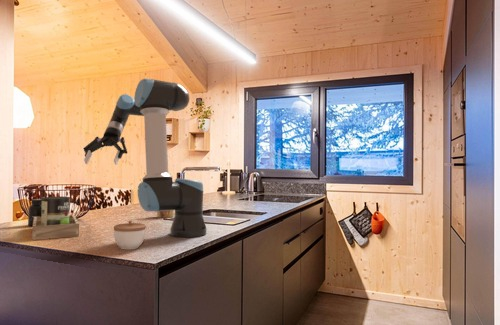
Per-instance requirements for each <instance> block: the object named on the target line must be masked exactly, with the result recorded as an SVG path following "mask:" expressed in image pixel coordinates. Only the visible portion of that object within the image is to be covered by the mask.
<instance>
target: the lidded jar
mask: <svg viewBox="0 0 500 325" xmlns="http://www.w3.org/2000/svg"><path fill="white" fill-rule="evenodd" d="M132 221H133V220H128V222H127V223H118V224H116V225H113V235H114V241H115V243H116V244H117V246H118V247H119V248H120V249H121V250H136V249H138V248H139V247H140V246H141V245H142V243H143V242H144V240H145V237H146V229H147V225H146V224H144V223H141V222H139V223H138V222H132Z"/></svg>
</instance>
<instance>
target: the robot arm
mask: <svg viewBox="0 0 500 325" xmlns="http://www.w3.org/2000/svg"><path fill="white" fill-rule="evenodd" d="M189 103H190V95H189V92H188V90H187V89H186V88H185V87H184V86H183V85H181V84H180V83H176V82H170V81H165V80H159V79H154V78H143V79H140V81H139V82H138V84H137V86H136V88H135V92H134V97H133V96H131V95H129V94H126V93H125V94H121V95H120V96H119V97H118V99H117V101H116V103H115V104H116V105H115V106H114V110H113V112H112V114H111V118H110V120H109V122H108V124H107V126H106V129H105V131H104V133H103V137H99V136H95V138H94V139H93V140H92V141H90V142H89V143H88V144H87V145H85V146H84V147H83V152H84V159H83V162H84V163H85V165H88V163H89V162H90V159H91V157H92V155H93V153H94V152H96V151H97V150H99V149H101V148H104V147H113V148H115V149H116V154H115V156H114V159H113V162H114V165H118V162H119V160H120V159H122V158H123V155H124V154H128V150H127V146H126V144H125V143H126V140H125V137H124V136H121V135H122V133H123V132H124V128H125V126H126V124H127V122H128V120H129V117H130V116H137V117H140V116H142V117H144V143H145V144H144V145H145V168H146V169H145V171H146V172H145V173H146V174H145V175H144V176H143V178H142V181H141V182H140V183H139V184H138V186H137V198H138V203H139V205H140V206H141V207H140V208H142V210H144V211H145V212H148V213H149V212H151V213H152V212H153V213H157V212H158V211H170V210H174V216H173V221H172V223H171V225H170V226H171V227H170V231H169V232H170V234H169V235H170V236H173V237H178V238H195V237H202V235H203V236H205V235H206V234H207V226H206V223H205V219H204V215H203V213H204V212H203V210H204V207H203V206H204V205H203V204H204V184H203V182H202V181H200V180H194V179H185V178H175V180H174V181H173V176H172V175H171V174H170V173H169V159H168V139H167V135H168V134H167V115H169V113H170V112H171V111H172V112H178V111H182V110H184V109H186V108H187V107H188V106H189ZM119 142H120V144H121V145H122V147H121V146H120V145H119V144H118V143H119Z"/></svg>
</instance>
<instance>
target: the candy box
mask: <svg viewBox="0 0 500 325" xmlns="http://www.w3.org/2000/svg"><path fill="white" fill-rule="evenodd" d="M174 215H175V210H170V211H158V212H156V218H174Z"/></svg>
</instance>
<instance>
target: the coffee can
mask: <svg viewBox="0 0 500 325" xmlns="http://www.w3.org/2000/svg"><path fill="white" fill-rule="evenodd" d="M40 199H41V200H42V219H41V226H45V225H61V224H69V215H70V201H71V196H45V197H41V198H40Z"/></svg>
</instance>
